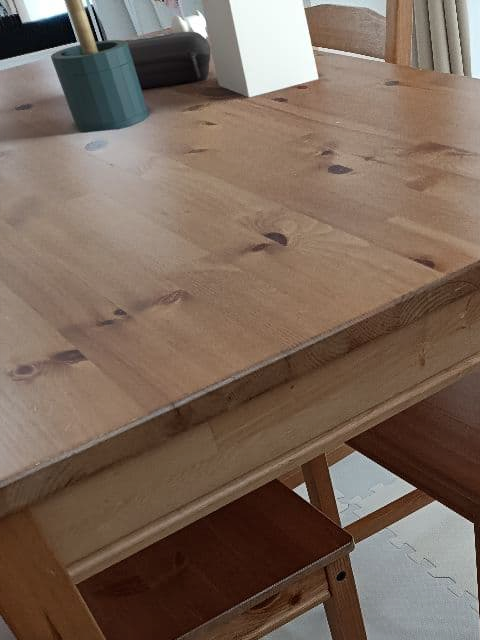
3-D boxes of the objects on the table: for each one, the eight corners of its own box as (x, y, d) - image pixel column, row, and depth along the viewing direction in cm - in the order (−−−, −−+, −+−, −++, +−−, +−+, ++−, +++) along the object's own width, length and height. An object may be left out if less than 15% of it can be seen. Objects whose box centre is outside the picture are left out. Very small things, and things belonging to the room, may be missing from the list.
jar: (65, 135, 109) (38, 61, 103) (92, 114, 116) (68, 44, 110) (134, 128, 108) (111, 53, 101) (157, 108, 115) (137, 36, 109)
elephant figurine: (193, 55, 142) (184, 17, 138) (166, 54, 146) (156, 16, 142) (221, 46, 145) (213, 8, 141) (194, 45, 149) (185, 8, 145)
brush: (94, 120, 110) (34, -57, 97) (104, 112, 113) (46, -60, 99) (118, 117, 110) (61, -60, 96) (127, 110, 112) (72, -64, 99)
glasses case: (218, 61, 130) (205, 13, 124) (219, 101, 126) (205, 53, 119) (111, 76, 130) (92, 27, 123) (108, 116, 126) (88, 68, 119)
